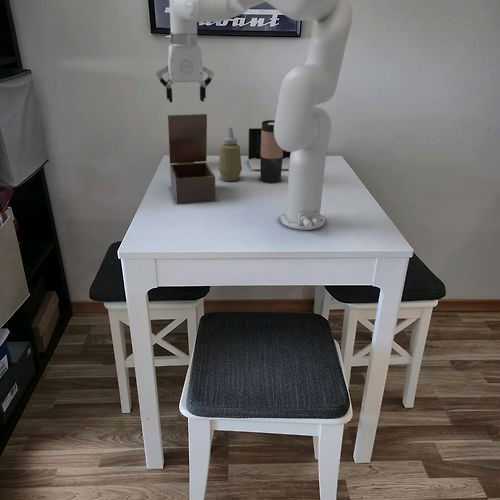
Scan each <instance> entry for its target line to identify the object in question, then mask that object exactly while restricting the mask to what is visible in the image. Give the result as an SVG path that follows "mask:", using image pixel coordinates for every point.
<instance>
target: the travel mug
mask: <svg viewBox="0 0 500 500" xmlns="http://www.w3.org/2000/svg"><path fill="white" fill-rule="evenodd" d="M274 123H275V119H265V120H263V121H262V122H261V128H262V132H261V170H260V181H261V182H263V183H267V184H275V183H280V182H281V181H282V180H281V179H282V171H283V170H282V159H283V149H281V148H280V147H279V146H278V144H277V142H276V140H275V137H274Z"/></svg>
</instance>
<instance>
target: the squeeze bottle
mask: <svg viewBox="0 0 500 500" xmlns="http://www.w3.org/2000/svg"><path fill="white" fill-rule="evenodd" d="M222 142H223V143H222V144H221V145H220V149H219V161H218V172H219V174H220V177H221V180H223V181H225V182H235V181H238V180H239V178H240V175H241V172H242V170H243V168H242V158H241V157H242V156H241V147H240V145H239V144H238V138H237V137H235V136H234V131H233V127H230V126H229V127H228V128H227V133H226V137H223V138H222Z"/></svg>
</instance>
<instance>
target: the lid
mask: <svg viewBox="0 0 500 500" xmlns="http://www.w3.org/2000/svg"><path fill="white" fill-rule="evenodd" d="M167 128H168V152H169V154H168V155H169V164H177V163H187V162H194V163H203V162H207V152H208V151H207V149H208V147H207V145H208V114H207V113H197V114H196V113H195V114H169V115H167Z"/></svg>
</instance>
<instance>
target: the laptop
mask: <svg viewBox="0 0 500 500" xmlns="http://www.w3.org/2000/svg"><path fill="white" fill-rule="evenodd" d="M261 132H262V127H249V128H248V142H247V143H248V146H247V147H248V148H247V159H248V160H247V162H248V165H249V166H250V169H251V171H261ZM290 155H291V152H288V151H285V150H283V159H282V171H289V161H290Z"/></svg>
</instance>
